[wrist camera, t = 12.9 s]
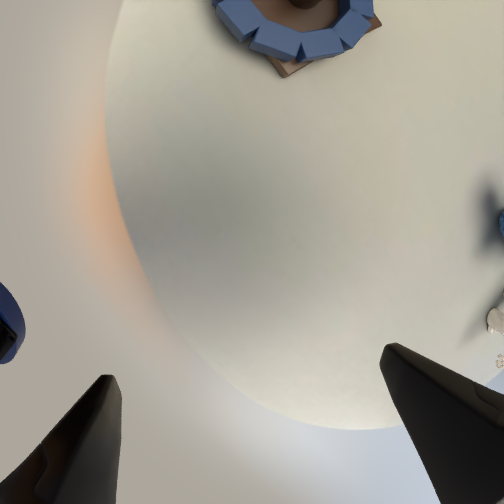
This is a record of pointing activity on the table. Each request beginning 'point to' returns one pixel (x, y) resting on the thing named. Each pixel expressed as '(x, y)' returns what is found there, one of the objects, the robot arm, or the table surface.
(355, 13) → the ring
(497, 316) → the toy creature
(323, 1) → the post
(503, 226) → the grapes
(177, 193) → the table surface
